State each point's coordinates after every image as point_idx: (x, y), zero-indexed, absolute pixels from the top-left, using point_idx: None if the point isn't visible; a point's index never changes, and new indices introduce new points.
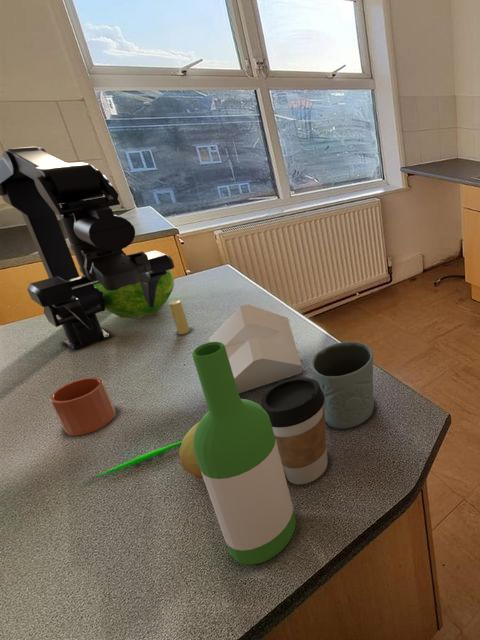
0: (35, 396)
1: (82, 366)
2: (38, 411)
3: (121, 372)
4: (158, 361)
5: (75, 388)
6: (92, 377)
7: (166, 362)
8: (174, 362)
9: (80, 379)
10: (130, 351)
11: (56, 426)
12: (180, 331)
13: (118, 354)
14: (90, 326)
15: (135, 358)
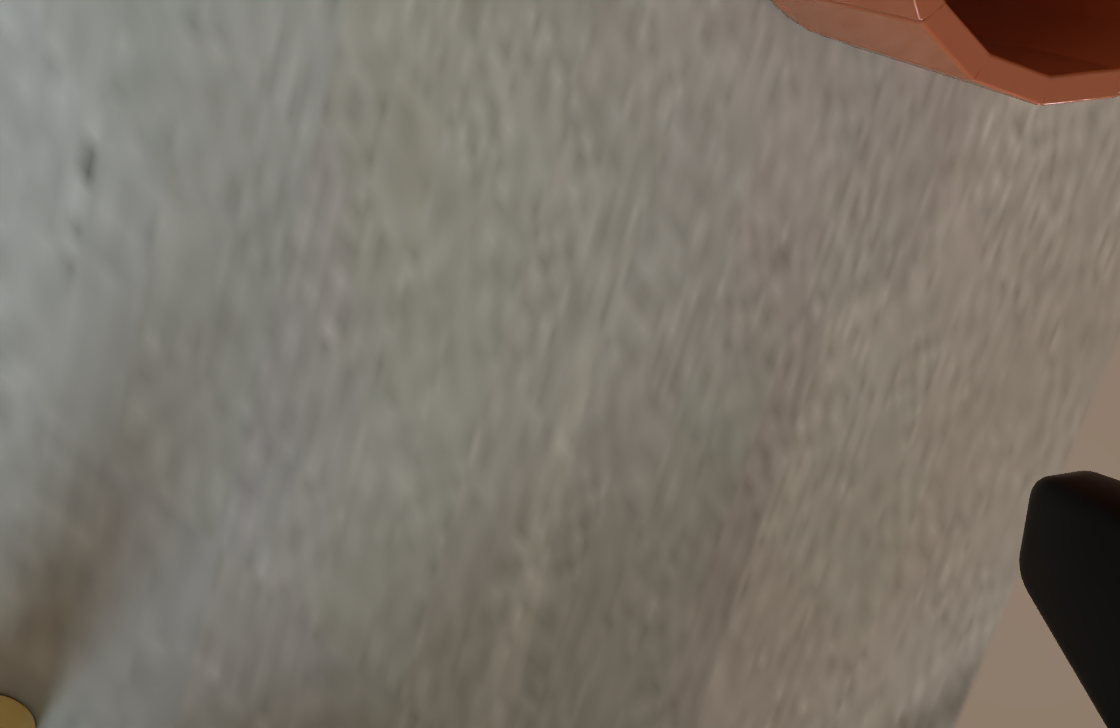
0: (928, 536)
1: (654, 698)
2: (990, 346)
3: (515, 448)
4: (266, 406)
5: (1017, 61)
6: (929, 14)
7: (217, 339)
8: (161, 285)
9: (1000, 85)
10: (388, 692)
11: None
12: (6, 723)
13: (458, 703)
14: (1114, 495)
15: (388, 575)
